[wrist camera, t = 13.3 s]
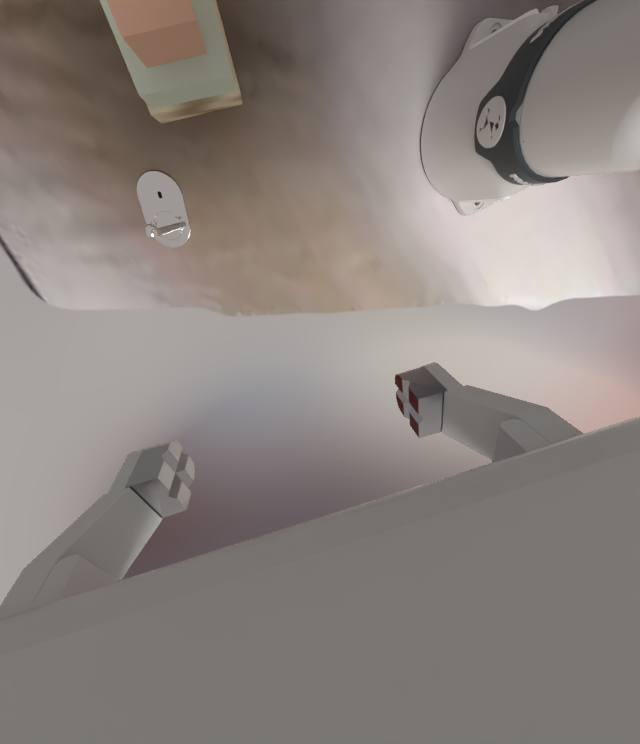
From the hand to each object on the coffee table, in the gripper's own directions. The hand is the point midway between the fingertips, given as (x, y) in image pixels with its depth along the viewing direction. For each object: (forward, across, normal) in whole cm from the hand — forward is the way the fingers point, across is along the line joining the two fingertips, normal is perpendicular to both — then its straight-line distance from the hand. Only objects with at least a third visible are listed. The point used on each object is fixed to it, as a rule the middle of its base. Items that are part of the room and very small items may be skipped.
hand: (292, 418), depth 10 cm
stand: (+34, +10, -8) cm, 37 cm away
